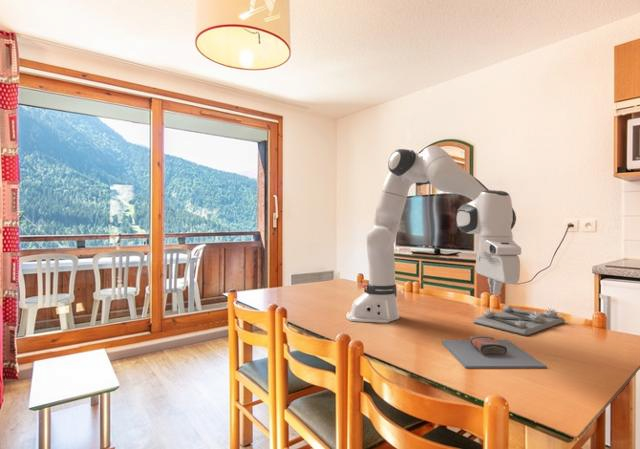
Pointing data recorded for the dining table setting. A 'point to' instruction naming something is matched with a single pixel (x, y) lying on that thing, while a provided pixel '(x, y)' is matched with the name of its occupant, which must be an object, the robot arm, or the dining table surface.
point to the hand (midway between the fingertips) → (495, 294)
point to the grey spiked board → (519, 320)
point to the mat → (491, 356)
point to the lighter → (488, 345)
